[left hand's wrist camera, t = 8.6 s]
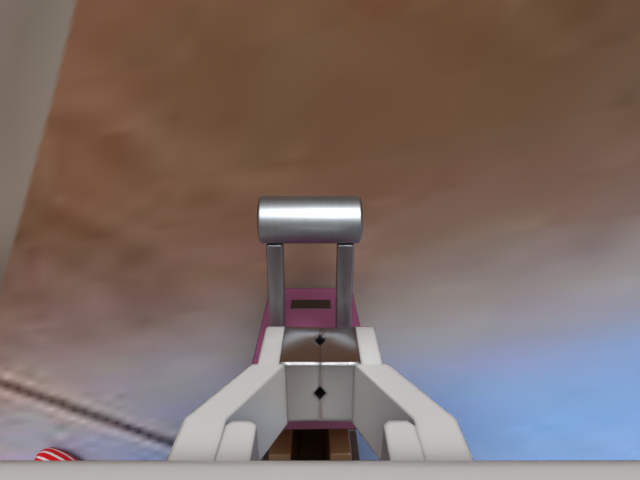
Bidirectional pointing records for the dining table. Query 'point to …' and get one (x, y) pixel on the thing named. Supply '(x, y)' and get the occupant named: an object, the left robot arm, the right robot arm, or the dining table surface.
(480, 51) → the dining table surface
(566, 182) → the dining table surface
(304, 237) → the drawer
